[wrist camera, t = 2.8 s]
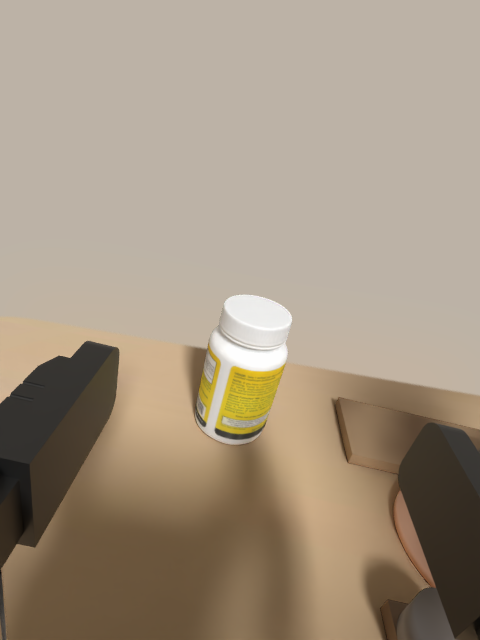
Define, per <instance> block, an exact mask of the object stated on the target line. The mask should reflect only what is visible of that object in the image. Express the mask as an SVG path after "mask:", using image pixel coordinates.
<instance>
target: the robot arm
mask: <svg viewBox="0 0 480 640" xmlns="http://www.w3.org/2000/svg"><path fill="white" fill-rule="evenodd" d="M118 365H119V349H118V348H117V347H112V346H108V345H104V344H100V343H95V342H91V341H86V342H85V343H84V344H83V345H82V346H81V347H80V348H79V349H78V350H77V351H76V353H75V354H74V355H73V356H72V357H71V358H67V357H63V356H58V357H55V358H53V359H51V360H49V361H47V362H45V363H43V364H41V365H39V366H38V367H37V368H36V369H35V370H34V371H33V372H32V373H31V374H30V375H29V376H28V377H27V378H26V379H25V380H24V381H23V384H20V385H19V386H18V387H17V388H16V389H15V390H14V391H13V392H12V393H11V395H10V397H7V398H6V399H5V400H4V401H3V402H2V403H1V404H0V640H8V634H7V622H6V609H5V597H4V584H3V572H2V567H3V565H4V564H5V562H6V560H7V559H8V557H9V555H10V554H11V552H12V551H13V549H14V547H15V546H16V544H21V545H26V546H30V547H36V545H37V543H38V542H39V540H40V538H41V536H42V535H43V533H44V531H45V529H46V528H47V526H48V524H49V522H50V521H51V519H52V517H53V515H54V514H55V512H56V510H57V508H58V507H59V505H60V503H61V501H62V500H63V498H64V496H65V494H66V493H67V491H68V489H69V487H70V486H71V484H72V482H73V480H74V479H75V477H76V475H77V473H78V472H79V470H80V468H81V466H82V465H83V463H84V461H85V459H86V458H87V456H88V454H89V452H90V451H91V449H92V447H93V445H94V444H95V442H96V440H97V438H98V437H99V435H100V433H101V431H102V430H103V428H104V426H105V424H106V423H107V421H108V419H109V417H110V415H111V412H112V409H113V406H114V402H115V398H116V388H117V376H118ZM398 481H399V486H400V490H401V492H402V495H403V498H404V501H405V503H406V506H407V509H408V512H409V514H410V517H411V520H412V523H413V525H414V528H415V531H416V534H417V536H418V539H419V542H420V545H421V547H422V550H423V553H424V556H425V558H426V561H427V564H428V567H429V569H430V572H431V575H432V578H433V580H434V583H435V586H436V589H437V591H438V594H439V597H440V600H441V602H442V605H443V608H444V611H445V613H446V616H447V619H448V622H449V624H450V627H451V630H452V633H453V635H454V638H455V639H458V640H480V453H479V452H478V450H477V449H476V447H475V446H474V444H473V443H472V441H471V439H470V438H469V436H468V435H467V434H466V432H465V431H463V430H462V429H459V428H454V427H450V426H446V425H442V424H437V423H433V422H430V423H427V424H426V425H425V426H424V427H423V428H422V430H421V431H420V433H419V435H418V436H417V438H416V439H415V441H414V443H413V444H412V446H411V447H410V449H409V450H408V452H407V454H406V455H405V457H404V458H403V460H402V462H401V464H400V467H399V472H398Z"/></svg>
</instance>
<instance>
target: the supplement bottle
mask: <svg viewBox="0 0 480 640" xmlns="http://www.w3.org/2000/svg"><path fill="white" fill-rule="evenodd" d="M291 323H292V317H291V315H290V313H289V311H288V310H287V309H286V308H284V307H283V306H282V305H280V304H278V303H276V302H274V301H272V300H270V299H267V298H263V297H260V296H255V295H235V296H232V297H230V298H228V299H227V300H226V301H225V303H224V305H223V309H222V313H221V317H220V322H219V326H217V327H216V328H215V329H214V330H213V332H212V334H211V336H210V339H209V343H208V348H207V353H206V358H205V363H204V368H203V373H202V377H201V383H200V387H199V392H198V397H197V402H196V407H195V418H196V421H197V424H198V426H199V427H200V428H201V430H202V431H203V432H204V433H205V434H207V435H208V436H209V437H211V438H213V439H215V440H217V441H219V442H222V443H225V444H230V445H241V444H246V443H249V442H251V441H253V440H255V439H256V438H257V437H258V436H259V435H260V434H261V432H262V431H263V429H264V426H265V424H266V421H267V418H268V415H269V411H270V409H271V406H272V403H273V400H274V397H275V394H276V391H277V388H278V385H279V382H280V379H281V376H282V373H283V370H284V367H285V364H286V361H287V356H288V350H287V347H286V344H285V342H286V340H287V338H288V334H289V330H290V327H291Z"/></svg>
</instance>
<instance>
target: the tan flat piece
mask: <svg viewBox="0 0 480 640" xmlns="http://www.w3.org/2000/svg"><path fill="white" fill-rule="evenodd" d="M335 407H336V411H337V416H338V420H339V425H340V429H341V434H342V438H343V443H344V447H345V452H346V456H347V461H348V463H352V464H356V465H360V466H365V467H369V468H374V469H378V470H383V471H387V472H392V473H396V474H398V472H399V467H400V464H401V462H402V460H403V458H404V457H405V455H406V454H407V452H408V450H409V449H410V447H411V446H412V444H413V443H414V441H415V439H416V438H417V436H418V435H419V433H420V431H421V430H422V428H423V427H424V426H425V425H426V424H427V423H430V422H433V423H437V424H442V425H446V426H450V427H454V428H459V429H462V430H463V431H465V432H466V434H467V435H468V436H469V438H470V439H471V441H472V443H473V444H474V446H475V447H476V449H477V450H478V452H479V453H480V430H478V429H474V428H470V427H465V426H461V425H457V424H452V423H448V422H444V421H439V420H435V419H431V418H426V417H422V416H418V415H413V414H409V413H405V412H400V411H396V410H392V409H387V408H383V407H379V406H374V405H370V404H366V403H361V402H357V401H353V400H348V399H344V398H340V397H339V398H338V400H337V402H336V404H335ZM393 514H394V522H395V526H396V530H397V533H398V535H399V538H400V541H401V543H402V545H403V547H404V549H405V551H406V553H407V554H408V556H409V558H410V559H411V561H412V563H413V564H414V565H415V567H416V568H417V570H418V571H419V572H420V574H421V575H422V576H423V577H424V579H425V580H426V581H427V582H428V583H429V584H430V586H431V587H432V588H426V589H423V590H422V591H420V592H419V593H418V594H417V596H416V597H415V598H414V599H413V600H412V601H411V602H410V603H409V604H406V603H401V602H397V601H392V600H387V601H386V602H385V604H384V605H383V606H382V607H381V608H380V609H381V613H382V618H383V622H384V627H385V631H386V636H387V640H458V639H455V638H454V635H453V633H452V630H451V627H450V624H449V622H448V619H447V616H446V613H445V611H444V608H443V605H442V602H441V600H440V597H439V594H438V591H437V589H436V586H435V583H434V580H433V578H432V575H431V572H430V569H429V567H428V564H427V561H426V558H425V556H424V553H423V550H422V547H421V545H420V542H419V539H418V536H417V534H416V531H415V528H414V525H413V523H412V520H411V517H410V514H409V512H408V509H407V506H406V503H405V501H404V498H403V495H402V492H401V490H400V491H399V493H398V494H397V496H396V499H395V502H394V512H393Z"/></svg>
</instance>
